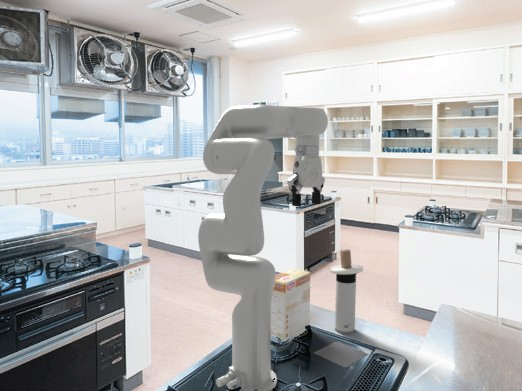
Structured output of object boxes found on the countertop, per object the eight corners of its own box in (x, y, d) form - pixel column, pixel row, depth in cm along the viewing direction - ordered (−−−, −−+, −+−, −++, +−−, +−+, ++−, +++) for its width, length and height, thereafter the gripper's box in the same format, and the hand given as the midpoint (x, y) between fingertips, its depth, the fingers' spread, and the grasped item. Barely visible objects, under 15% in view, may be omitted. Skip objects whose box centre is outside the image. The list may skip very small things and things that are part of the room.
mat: (345, 369, 106) (345, 367, 106) (313, 354, 114) (313, 352, 114) (368, 355, 113) (368, 354, 113) (336, 342, 121) (336, 340, 121)
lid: (350, 275, 120) (349, 254, 120) (324, 272, 128) (322, 252, 128) (369, 269, 127) (367, 248, 127) (343, 266, 135) (341, 246, 134)
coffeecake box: (292, 325, 134) (292, 267, 132) (310, 330, 130) (311, 271, 128) (264, 340, 122) (265, 278, 120) (284, 347, 118) (284, 283, 116)
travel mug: (350, 337, 125) (352, 274, 123) (331, 331, 129) (332, 270, 127) (358, 330, 130) (360, 270, 128) (340, 325, 134) (341, 266, 132)
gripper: (297, 151, 120) (297, 208, 122) (333, 152, 132) (332, 204, 134) (280, 151, 126) (279, 206, 127) (315, 152, 137) (314, 202, 139)
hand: (306, 205), depth 130 cm, fingers open, 9 cm apart
